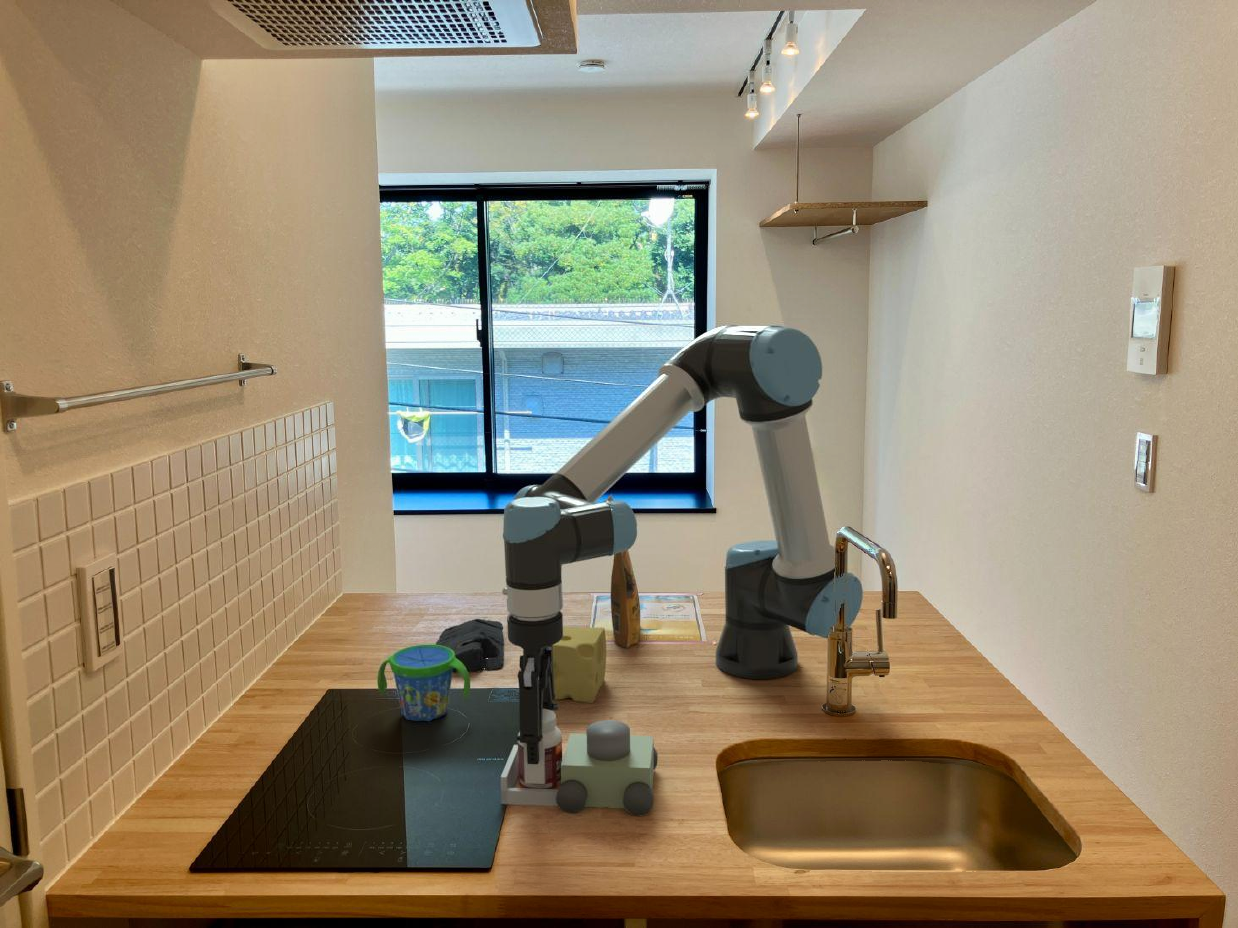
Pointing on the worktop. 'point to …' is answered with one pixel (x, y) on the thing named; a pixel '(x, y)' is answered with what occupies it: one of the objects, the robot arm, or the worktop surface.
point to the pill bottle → (551, 754)
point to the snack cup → (423, 680)
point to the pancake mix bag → (624, 600)
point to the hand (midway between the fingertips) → (540, 767)
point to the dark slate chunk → (476, 644)
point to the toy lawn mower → (594, 772)
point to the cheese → (579, 663)
